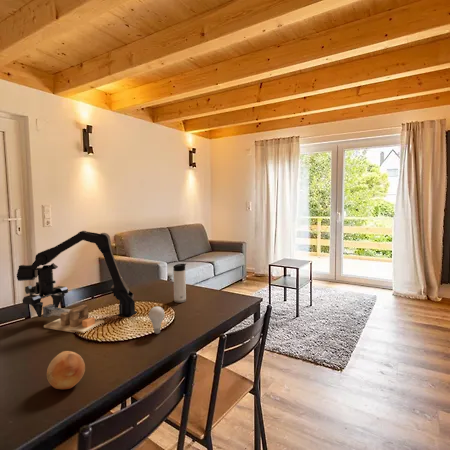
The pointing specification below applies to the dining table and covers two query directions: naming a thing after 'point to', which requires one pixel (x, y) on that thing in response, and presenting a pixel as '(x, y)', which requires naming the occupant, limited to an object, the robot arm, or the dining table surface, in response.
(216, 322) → the dining table surface
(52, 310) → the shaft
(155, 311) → the lightbulb
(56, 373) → the onion
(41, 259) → the robot arm
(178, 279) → the travel mug
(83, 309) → the bearing stand
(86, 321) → the block
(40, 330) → the dining table surface
